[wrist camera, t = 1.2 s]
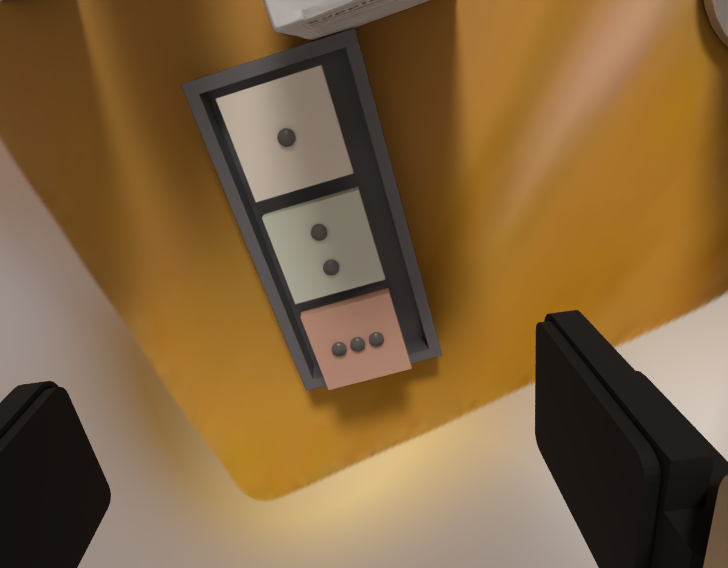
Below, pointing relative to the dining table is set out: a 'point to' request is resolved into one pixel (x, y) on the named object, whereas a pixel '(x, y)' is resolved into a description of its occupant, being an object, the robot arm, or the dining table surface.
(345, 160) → the tile
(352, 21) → the supplement box
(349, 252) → the tile
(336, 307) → the tile
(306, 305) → the gray rectangular tray
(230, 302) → the dining table surface
